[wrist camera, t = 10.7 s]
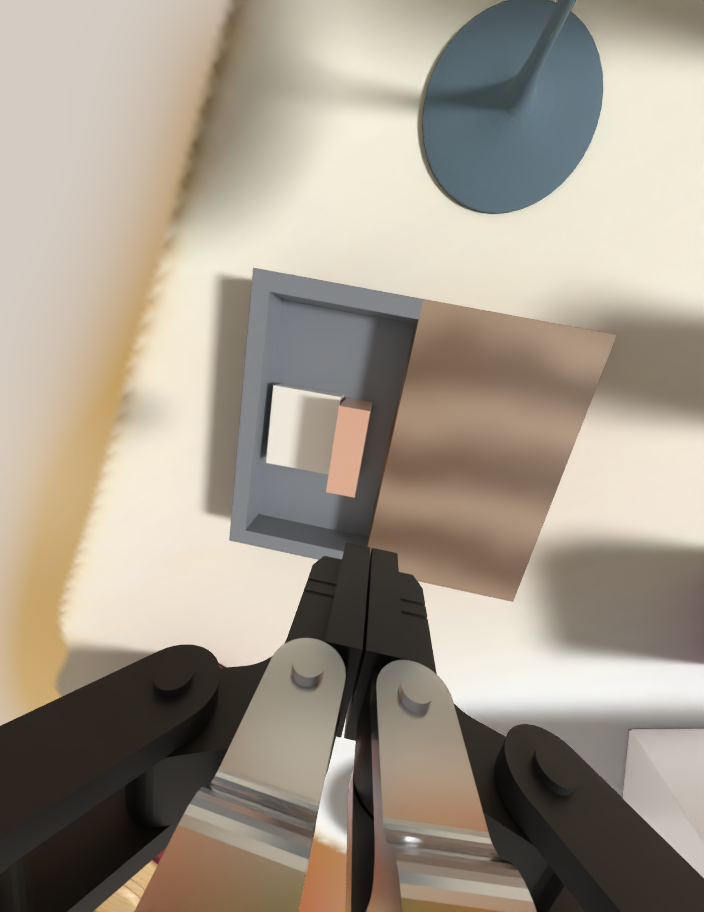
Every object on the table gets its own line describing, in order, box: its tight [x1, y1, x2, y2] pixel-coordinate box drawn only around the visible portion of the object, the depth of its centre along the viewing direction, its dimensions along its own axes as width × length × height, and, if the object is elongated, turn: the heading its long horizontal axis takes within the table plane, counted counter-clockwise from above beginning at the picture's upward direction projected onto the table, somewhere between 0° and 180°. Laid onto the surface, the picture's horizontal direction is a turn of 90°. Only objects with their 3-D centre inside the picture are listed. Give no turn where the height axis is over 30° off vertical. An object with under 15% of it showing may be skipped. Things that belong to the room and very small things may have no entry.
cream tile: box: [266, 383, 344, 475], centre depth 26 cm, size 6×5×2 cm
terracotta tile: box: [326, 397, 373, 498], centre depth 24 cm, size 6×5×2 cm
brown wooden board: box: [367, 299, 617, 602], centre depth 25 cm, size 20×12×4 cm, turn 170°
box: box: [229, 268, 423, 560], centre depth 26 cm, size 20×11×4 cm, turn 170°
